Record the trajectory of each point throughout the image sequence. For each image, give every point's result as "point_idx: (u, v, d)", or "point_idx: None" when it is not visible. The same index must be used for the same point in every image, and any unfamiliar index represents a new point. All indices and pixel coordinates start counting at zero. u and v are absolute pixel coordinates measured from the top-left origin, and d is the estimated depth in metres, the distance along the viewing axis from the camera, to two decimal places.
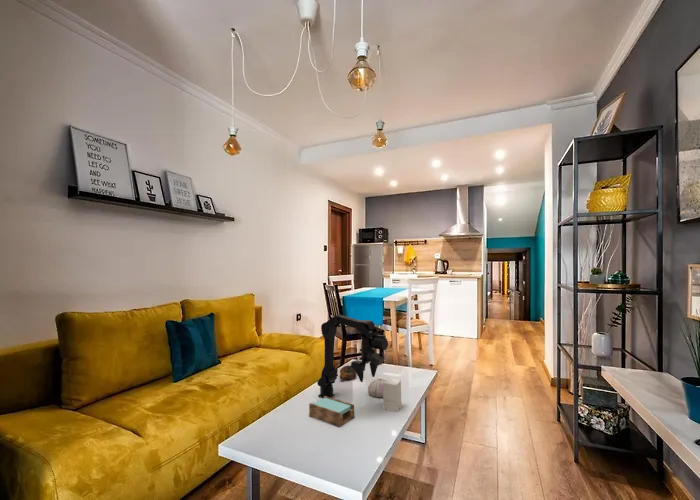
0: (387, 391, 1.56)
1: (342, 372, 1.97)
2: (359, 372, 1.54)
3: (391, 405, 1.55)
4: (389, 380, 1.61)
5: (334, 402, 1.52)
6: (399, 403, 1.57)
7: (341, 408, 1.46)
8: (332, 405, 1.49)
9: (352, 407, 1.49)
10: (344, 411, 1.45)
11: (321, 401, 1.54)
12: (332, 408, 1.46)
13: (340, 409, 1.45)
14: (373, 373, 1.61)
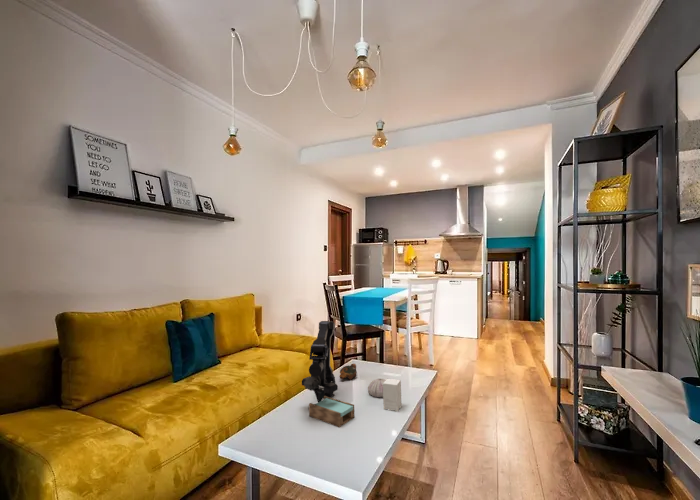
0: (387, 391, 1.56)
1: (342, 372, 1.97)
2: None
3: (391, 405, 1.55)
4: (389, 380, 1.61)
5: (336, 403, 1.52)
6: (399, 403, 1.57)
7: (343, 409, 1.45)
8: (334, 405, 1.49)
9: None
10: (346, 412, 1.44)
11: (323, 402, 1.53)
12: (334, 409, 1.45)
13: (342, 409, 1.44)
14: None
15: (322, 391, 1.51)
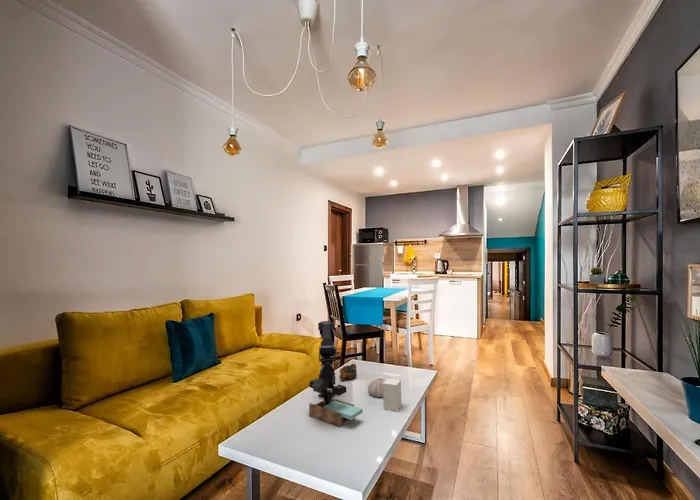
0: (387, 391, 1.56)
1: (342, 372, 1.97)
2: None
3: (391, 405, 1.55)
4: (389, 380, 1.61)
5: (345, 405, 1.49)
6: (399, 403, 1.57)
7: (353, 412, 1.42)
8: (343, 408, 1.46)
9: None
10: (356, 414, 1.41)
11: (331, 404, 1.50)
12: (343, 411, 1.42)
13: (352, 412, 1.41)
14: None
15: (330, 393, 1.48)
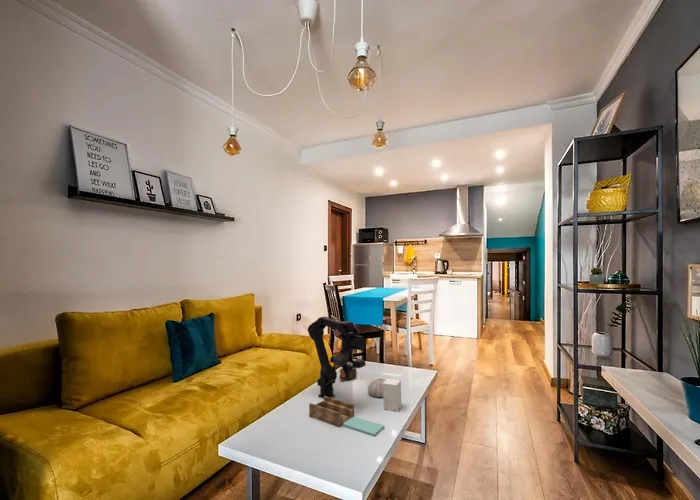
0: (387, 391, 1.56)
1: (342, 372, 1.97)
2: None
3: (391, 405, 1.55)
4: (389, 380, 1.61)
5: (365, 422, 1.42)
6: (399, 403, 1.57)
7: (375, 429, 1.36)
8: (364, 425, 1.39)
9: (352, 407, 1.49)
10: (378, 432, 1.35)
11: (351, 421, 1.43)
12: (365, 429, 1.36)
13: (374, 430, 1.35)
14: None
15: (351, 367, 1.60)
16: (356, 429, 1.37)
